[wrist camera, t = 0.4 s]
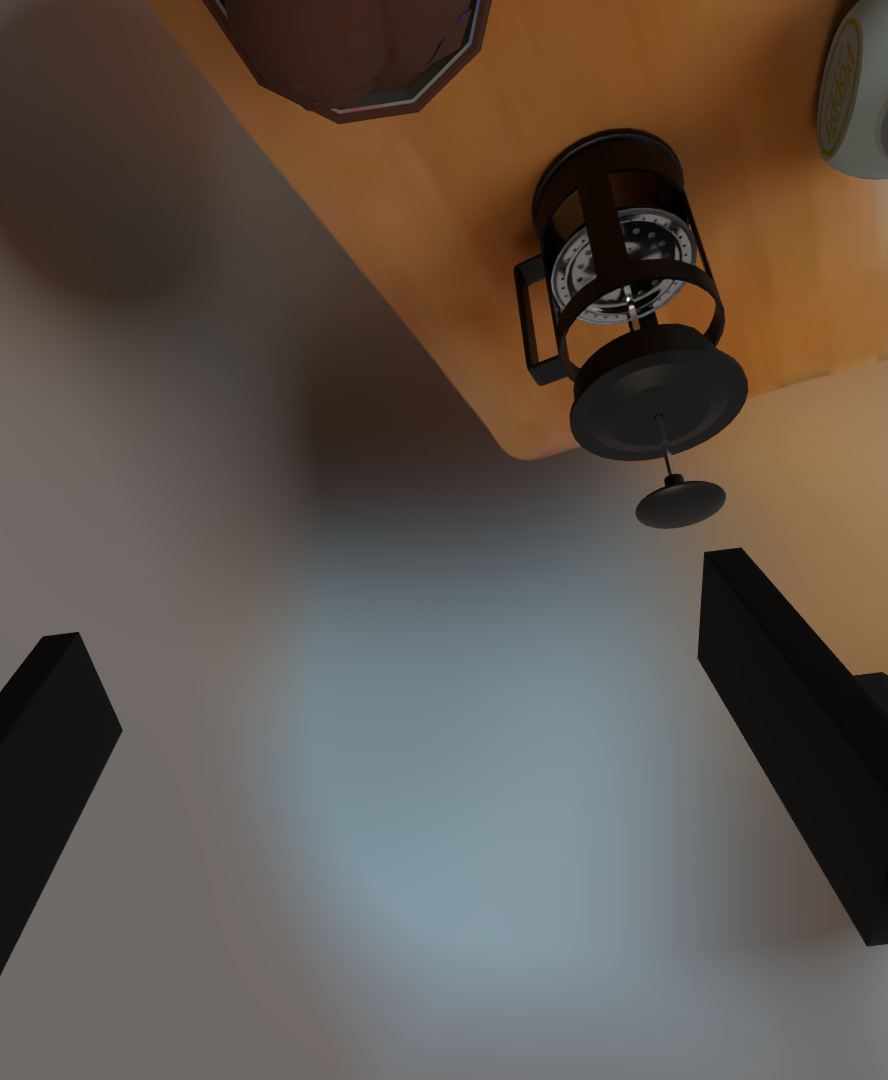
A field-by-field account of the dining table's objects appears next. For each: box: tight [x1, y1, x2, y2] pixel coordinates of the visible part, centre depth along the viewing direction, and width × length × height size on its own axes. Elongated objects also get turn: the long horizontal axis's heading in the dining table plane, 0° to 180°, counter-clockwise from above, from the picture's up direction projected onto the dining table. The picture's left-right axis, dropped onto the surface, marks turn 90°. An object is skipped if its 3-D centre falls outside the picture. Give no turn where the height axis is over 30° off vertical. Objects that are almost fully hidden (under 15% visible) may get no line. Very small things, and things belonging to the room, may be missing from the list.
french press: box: [514, 129, 748, 529], centre depth 39 cm, size 12×9×23 cm
